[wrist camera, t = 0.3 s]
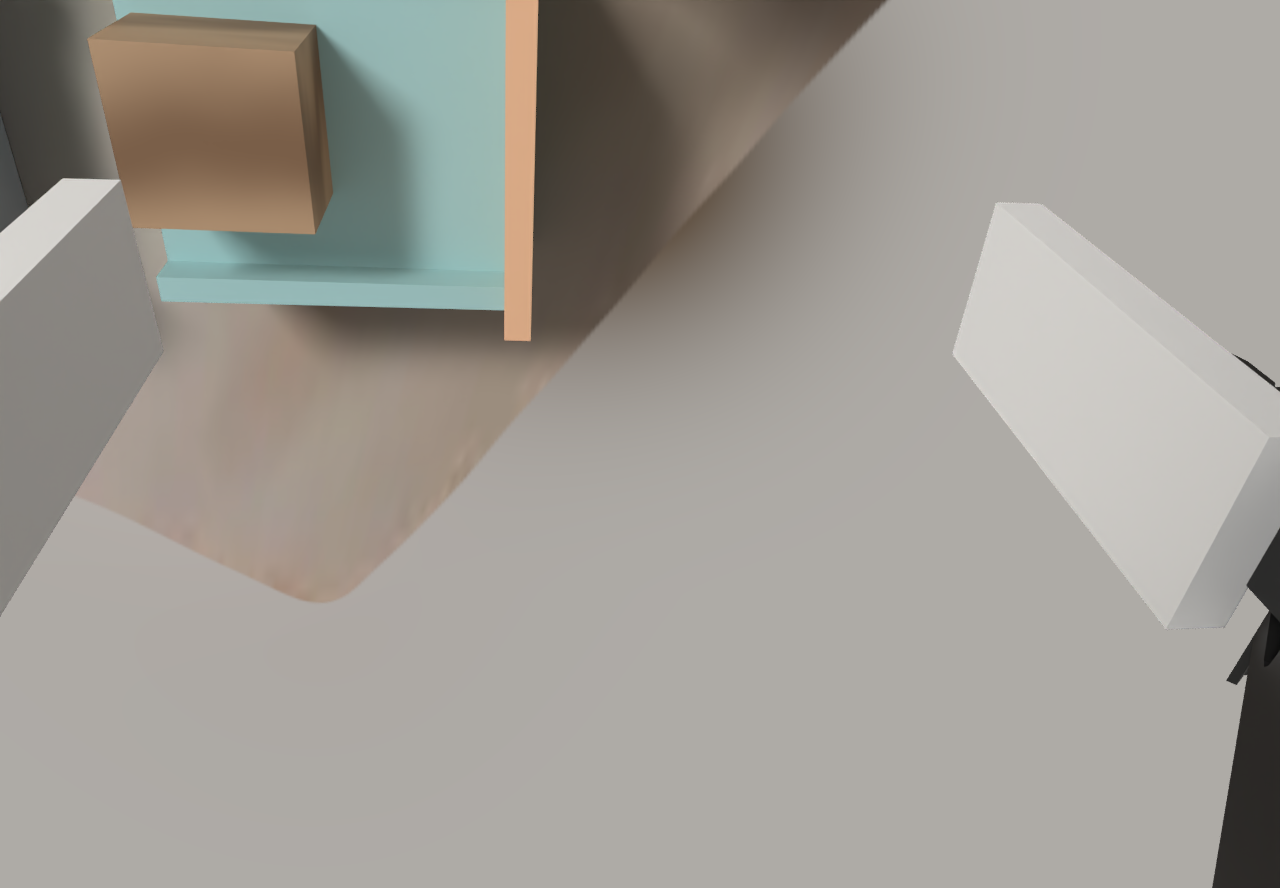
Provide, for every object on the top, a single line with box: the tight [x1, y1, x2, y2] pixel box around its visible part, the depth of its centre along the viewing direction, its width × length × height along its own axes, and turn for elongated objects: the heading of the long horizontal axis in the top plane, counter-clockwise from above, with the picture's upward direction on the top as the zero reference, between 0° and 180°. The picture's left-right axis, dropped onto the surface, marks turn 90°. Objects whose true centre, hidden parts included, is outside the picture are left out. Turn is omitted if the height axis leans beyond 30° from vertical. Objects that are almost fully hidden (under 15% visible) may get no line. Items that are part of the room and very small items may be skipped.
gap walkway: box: [0, 0, 538, 341], centre depth 33 cm, size 14×34×9 cm, turn 86°
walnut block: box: [87, 12, 333, 234], centre depth 32 cm, size 6×6×4 cm
